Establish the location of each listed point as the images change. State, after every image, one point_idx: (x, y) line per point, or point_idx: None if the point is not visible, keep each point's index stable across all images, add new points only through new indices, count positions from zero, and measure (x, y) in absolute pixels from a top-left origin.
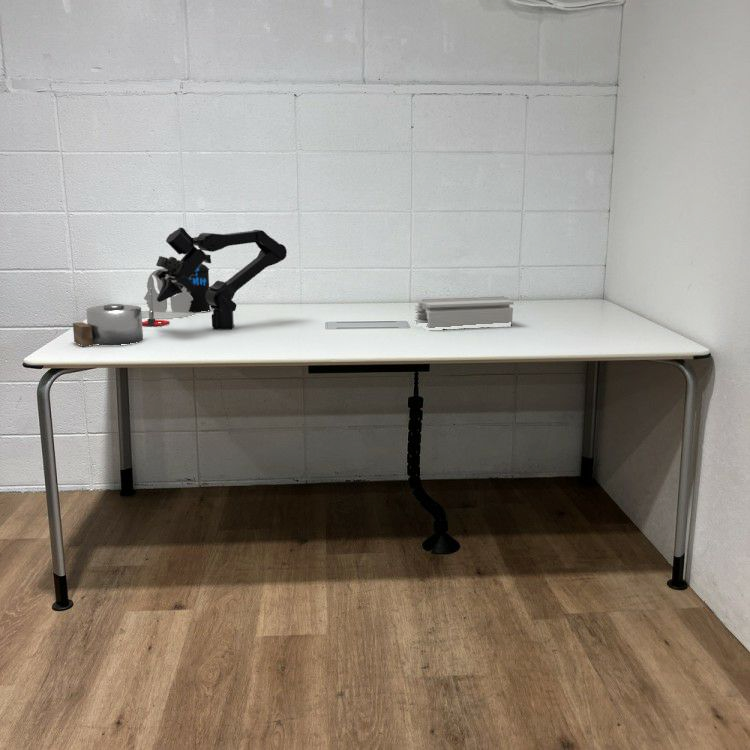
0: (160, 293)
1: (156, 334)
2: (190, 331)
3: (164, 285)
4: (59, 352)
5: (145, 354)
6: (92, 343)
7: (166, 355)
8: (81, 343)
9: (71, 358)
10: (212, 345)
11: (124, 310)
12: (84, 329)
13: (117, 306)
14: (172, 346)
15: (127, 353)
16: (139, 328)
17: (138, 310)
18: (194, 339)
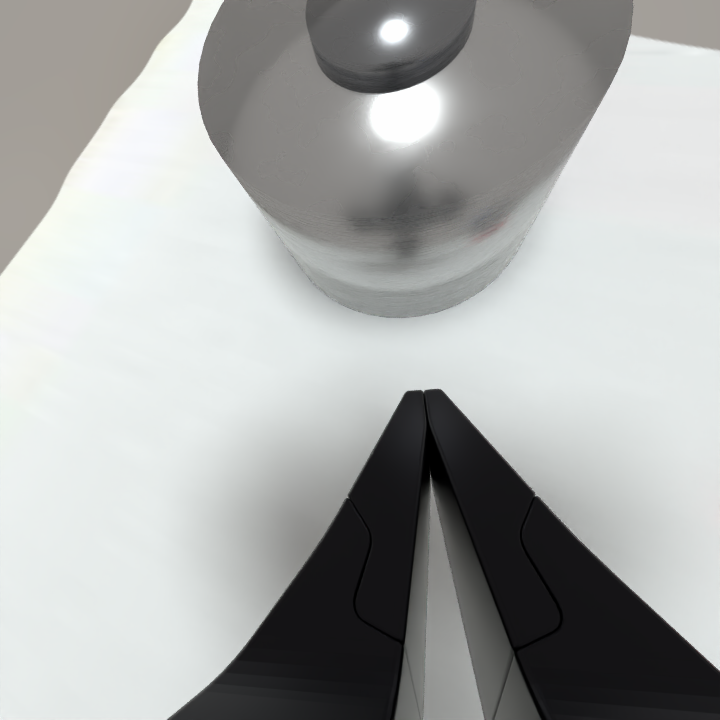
0: (441, 454)
1: None
2: (456, 638)
3: (528, 673)
4: None
5: (97, 249)
6: None
7: (40, 307)
8: None
9: (190, 48)
10: (61, 543)
11: (269, 86)
12: None
13: (324, 16)
14: (151, 378)
15: (148, 200)
16: (295, 256)
17: (244, 181)
18: (224, 536)
